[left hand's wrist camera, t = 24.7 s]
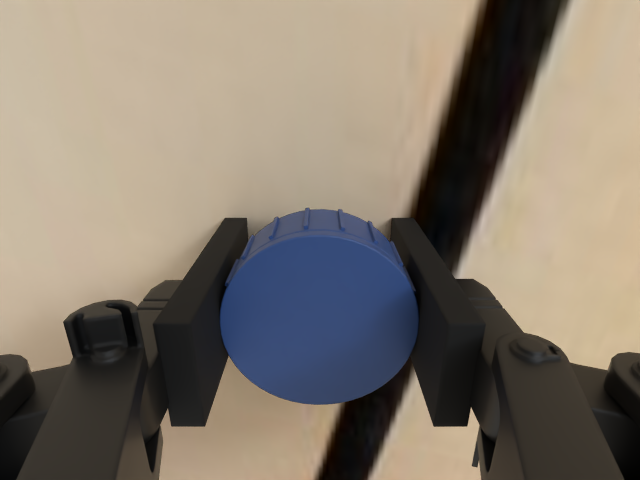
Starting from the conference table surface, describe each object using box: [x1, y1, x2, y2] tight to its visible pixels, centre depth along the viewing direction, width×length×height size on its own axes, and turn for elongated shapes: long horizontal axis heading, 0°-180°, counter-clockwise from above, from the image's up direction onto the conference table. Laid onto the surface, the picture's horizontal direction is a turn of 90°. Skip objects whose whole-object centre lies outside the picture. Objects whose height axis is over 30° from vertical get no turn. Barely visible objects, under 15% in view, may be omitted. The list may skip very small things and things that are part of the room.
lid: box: [220, 208, 419, 405], centre depth 11 cm, size 5×5×2 cm
